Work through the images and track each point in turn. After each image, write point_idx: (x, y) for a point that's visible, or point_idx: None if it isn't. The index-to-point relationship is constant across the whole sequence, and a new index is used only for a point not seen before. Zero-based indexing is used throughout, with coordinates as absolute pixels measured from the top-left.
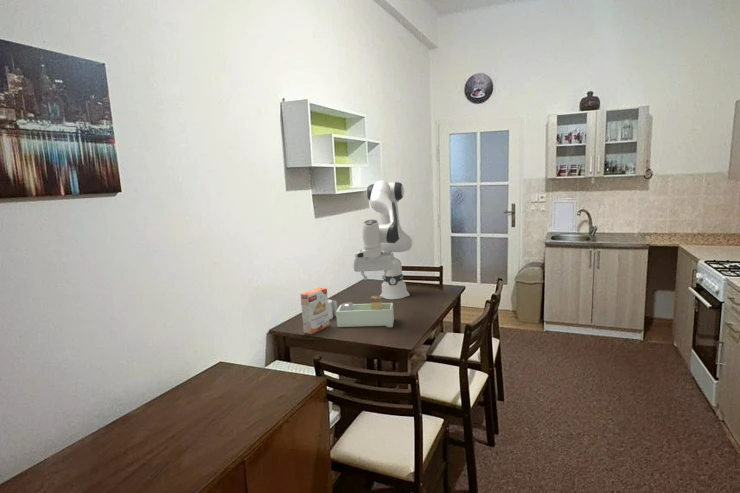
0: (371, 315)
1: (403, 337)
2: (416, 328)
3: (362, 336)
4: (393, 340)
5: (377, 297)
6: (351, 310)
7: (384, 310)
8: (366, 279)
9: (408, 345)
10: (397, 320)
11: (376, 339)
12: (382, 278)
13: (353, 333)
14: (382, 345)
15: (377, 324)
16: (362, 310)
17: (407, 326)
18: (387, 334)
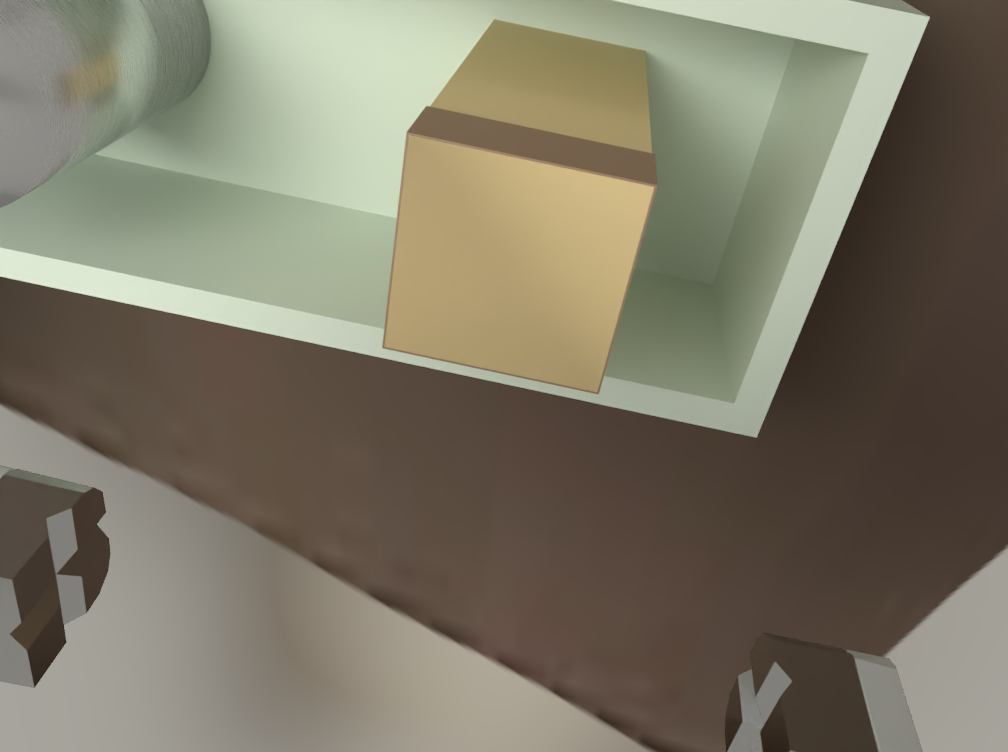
0: None
1: (756, 593)
2: (995, 425)
3: (356, 460)
4: (645, 622)
5: (545, 298)
6: (84, 158)
7: (641, 408)
8: (95, 588)
9: None
10: None
11: (492, 561)
12: (730, 738)
13: (252, 357)
14: (532, 675)
15: None
16: (280, 320)
17: (920, 332)
18: (618, 486)
